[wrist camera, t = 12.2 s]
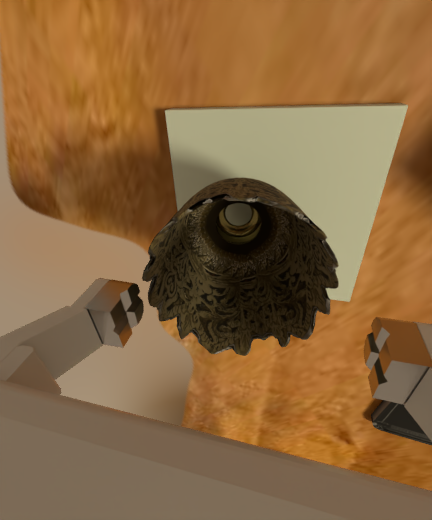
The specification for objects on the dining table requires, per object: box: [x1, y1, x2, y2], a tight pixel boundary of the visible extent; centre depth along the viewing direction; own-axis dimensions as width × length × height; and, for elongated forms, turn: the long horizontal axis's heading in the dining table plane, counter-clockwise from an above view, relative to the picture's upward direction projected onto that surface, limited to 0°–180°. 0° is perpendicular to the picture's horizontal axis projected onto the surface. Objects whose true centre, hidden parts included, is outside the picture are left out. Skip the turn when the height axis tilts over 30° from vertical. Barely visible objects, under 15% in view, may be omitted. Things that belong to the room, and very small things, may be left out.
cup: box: [142, 178, 339, 356], centre depth 14 cm, size 8×7×8 cm
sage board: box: [165, 103, 408, 302], centre depth 18 cm, size 12×12×1 cm
